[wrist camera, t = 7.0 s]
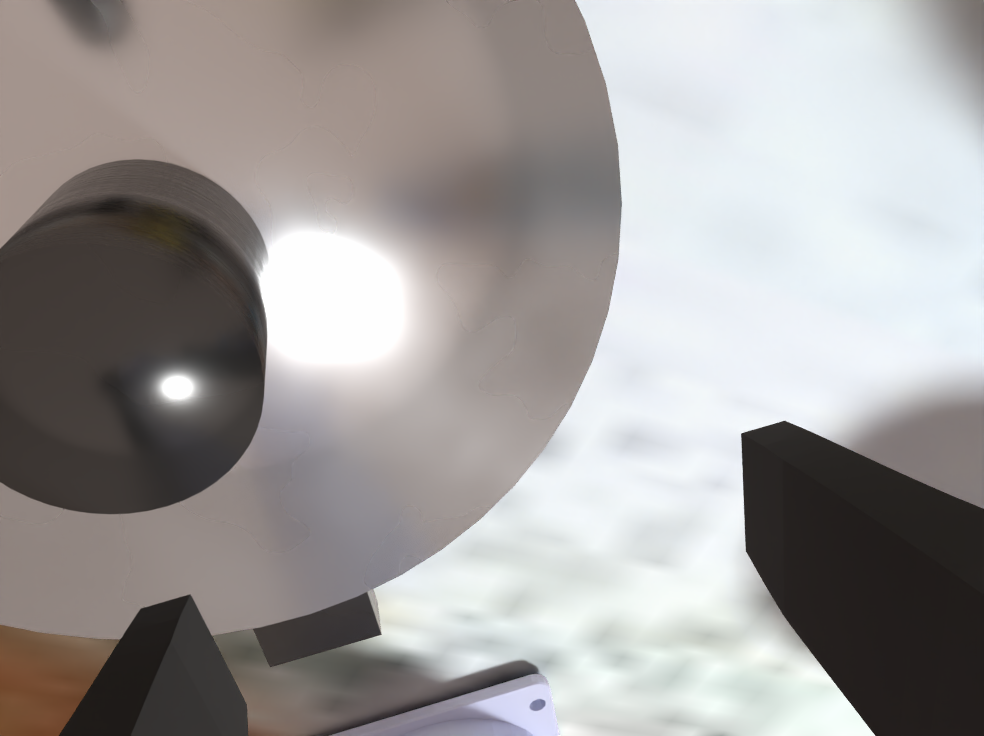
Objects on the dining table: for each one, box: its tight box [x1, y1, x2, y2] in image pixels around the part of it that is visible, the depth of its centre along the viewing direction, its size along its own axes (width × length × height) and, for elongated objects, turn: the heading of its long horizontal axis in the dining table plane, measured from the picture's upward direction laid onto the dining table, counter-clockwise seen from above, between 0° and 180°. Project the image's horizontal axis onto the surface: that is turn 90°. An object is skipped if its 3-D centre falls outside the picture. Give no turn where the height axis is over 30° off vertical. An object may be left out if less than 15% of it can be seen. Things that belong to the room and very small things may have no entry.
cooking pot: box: [253, 589, 382, 667], centre depth 14 cm, size 19×13×5 cm
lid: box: [0, 0, 622, 639], centre depth 10 cm, size 14×14×4 cm
